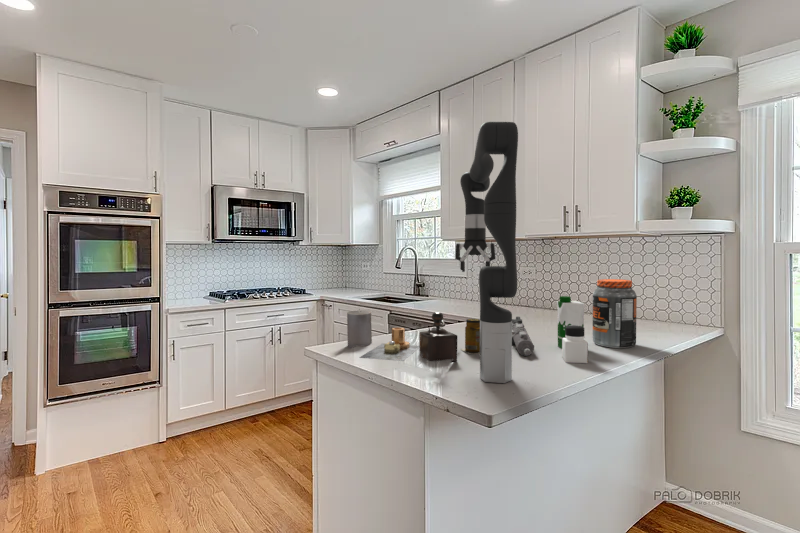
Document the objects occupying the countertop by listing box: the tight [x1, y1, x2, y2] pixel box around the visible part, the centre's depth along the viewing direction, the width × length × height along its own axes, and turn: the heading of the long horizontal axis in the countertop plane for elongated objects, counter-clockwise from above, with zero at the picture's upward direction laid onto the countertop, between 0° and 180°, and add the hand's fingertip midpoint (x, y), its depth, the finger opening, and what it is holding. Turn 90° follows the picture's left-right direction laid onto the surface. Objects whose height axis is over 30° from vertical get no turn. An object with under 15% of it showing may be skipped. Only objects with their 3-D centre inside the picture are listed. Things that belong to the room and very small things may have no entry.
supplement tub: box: [592, 278, 638, 349], centre depth 173 cm, size 16×16×26 cm
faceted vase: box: [387, 327, 411, 349], centre depth 166 cm, size 8×8×7 cm
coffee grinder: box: [418, 311, 458, 364], centre depth 148 cm, size 16×11×18 cm
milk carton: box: [556, 295, 585, 350], centre depth 167 cm, size 9×9×20 cm
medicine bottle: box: [561, 325, 589, 364], centre depth 149 cm, size 7×7×12 cm
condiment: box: [460, 318, 480, 355], centre depth 163 cm, size 7×8×12 cm
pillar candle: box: [346, 308, 373, 349], centre depth 174 cm, size 10×10×15 cm
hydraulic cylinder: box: [512, 316, 535, 356], centre depth 170 cm, size 7×37×10 cm, turn 173°
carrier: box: [359, 340, 419, 362], centre depth 159 cm, size 24×16×7 cm, turn 163°
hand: (475, 271), depth 159 cm, fingers open, 8 cm apart
